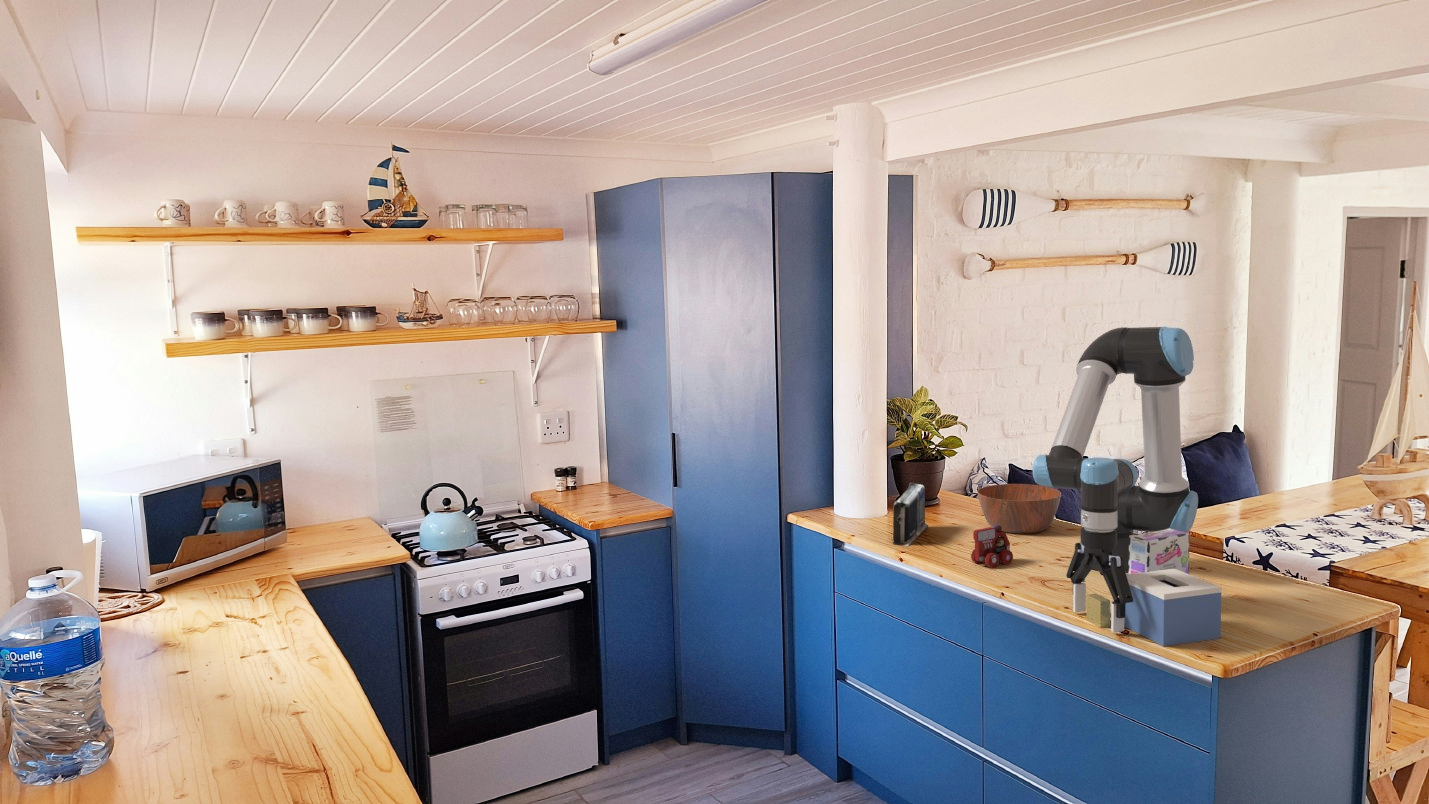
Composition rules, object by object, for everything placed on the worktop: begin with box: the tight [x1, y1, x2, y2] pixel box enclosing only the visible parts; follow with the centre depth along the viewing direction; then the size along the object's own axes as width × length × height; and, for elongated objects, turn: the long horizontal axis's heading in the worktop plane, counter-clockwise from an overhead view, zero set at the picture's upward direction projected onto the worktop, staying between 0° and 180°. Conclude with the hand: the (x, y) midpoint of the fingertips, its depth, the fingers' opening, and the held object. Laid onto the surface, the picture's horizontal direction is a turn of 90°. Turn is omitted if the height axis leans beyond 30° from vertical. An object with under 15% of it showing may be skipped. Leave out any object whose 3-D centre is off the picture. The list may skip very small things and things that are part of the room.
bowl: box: [976, 483, 1062, 535], centre depth 292 cm, size 25×25×11 cm
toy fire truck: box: [970, 525, 1014, 569], centre depth 256 cm, size 7×12×10 cm, turn 118°
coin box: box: [1124, 569, 1222, 647], centre depth 202 cm, size 14×14×11 cm
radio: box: [891, 482, 929, 548], centre depth 287 cm, size 23×9×15 cm, turn 146°
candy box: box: [1127, 528, 1190, 574], centre depth 221 cm, size 14×6×16 cm, turn 114°
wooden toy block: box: [1085, 593, 1111, 629], centre depth 208 cm, size 5×2×6 cm, turn 13°
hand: (1097, 621), depth 209 cm, fingers open, 13 cm apart
